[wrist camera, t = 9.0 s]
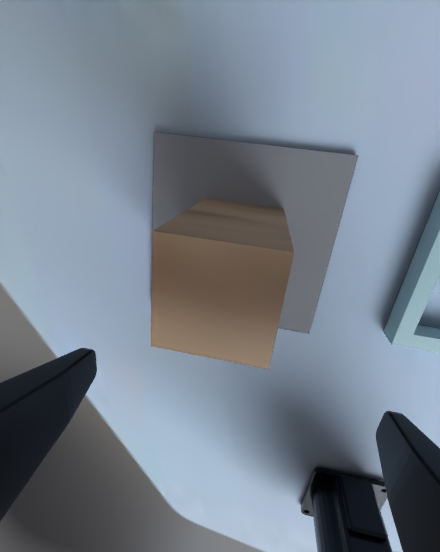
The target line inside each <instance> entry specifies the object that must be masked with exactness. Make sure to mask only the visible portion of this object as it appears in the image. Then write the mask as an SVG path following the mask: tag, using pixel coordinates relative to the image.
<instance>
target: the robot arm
mask: <svg viewBox="0 0 440 552" xmlns="http://www.w3.org/2000/svg"><path fill="white" fill-rule="evenodd" d="M96 372H97V366H96V354H95V351H94V350H92V349H87V348H80V349H78V350H75V351H73V352H71V353H68V354H66V355H64V356H61V357H59V358H57V359H55V360H52V361H50V362H47V363H45V364H43V365H41V366H38V367H36V368H34V369H31V370H29V371H27V372H24V373H22V374H20V375H18V376H15V377H13V378H10V379H8V380H6V381H3V382H1V383H0V522H1V520H2V519H3V517H4V516H5V515H6V513H7V512H8V510H9V509H10V508H11V506H12V504H13V503H14V502H15V500H16V499H17V497H18V496H19V495H20V493H21V492H22V490H23V489H24V487H25V486H26V484H27V483H28V482H29V480H30V479H31V477H32V476H33V474H34V473H35V471H36V470H37V469H38V467H39V466H40V464H41V463H42V461H43V460H44V459H45V457H46V456H47V454H48V453H49V451H50V450H51V448H52V447H53V445H54V444H55V443H56V441H57V440H58V438H59V437H60V435H61V434H62V432H63V431H64V430H65V428H66V427H67V425H68V423H69V422H70V421H71V419H72V417H73V416H74V414H75V412H76V410H77V409H78V407H79V405H80V403H81V401H82V400H83V398H84V396H85V394H86V392H87V391H88V389H89V387H90V385H91V384H92V382H93V380H94V378H95V376H96ZM376 441H377V446H378V452H379V457H380V462H381V468H382V473H383V478H384V482H381V481H376V480H372V479H368V478H363V477H359V476H355V475H350V474H346V473H342V472H337V471H333V470H329V469H324V468H316V469H315V470H314V472H313V475H312V478H311V480H310V483H309V486H308V488H307V491H306V494H305V497H304V499H303V502H302V505H301V512H302V513H303V514H305V515H308V516H312V517H314V525H315V534H316V542H317V551H318V552H392V549H391V546H390V542H389V539H388V535H387V531H386V528H385V525H384V522H383V518H382V515H381V512H380V510H381V508H382V506H383V504H384V502H385V501H386V499H387V498H388V501H389V505H390V509H391V512H392V516H393V519H394V523H395V526H396V529H397V533H398V536H399V540H400V543H401V547H402V550H403V552H440V448H439V447H438V446H437V445H435V444H434V443H433V442H432V441H431V440H430V439H429V438H428V437H427V436H426V435H425V434H424V433H423V432H421V431H420V430H419V429H418V428H417V427H416V426H415V425H414V424H413V423H412V422H411V421H410V420H409V419H407V418H406V417H405V416H404V415H403V414H401V413H397V412H392V411H386V412H385V413H384V415H383V417H382V419H381V422H380V424H379V426H378V428H377V431H376Z"/></svg>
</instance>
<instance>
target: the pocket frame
mask: <svg viewBox="0 0 440 552" xmlns="http://www.w3.org/2000/svg"><path fill="white" fill-rule="evenodd" d="M439 276H440V191H439V194H438V196H437V199H436V201H435V204H434V206H433V209H432V211H431V214H430V216H429V219H428V221H427V224H426V226H425V229H424V231H423V234H422V236H421V239H420V241H419V244H418V246H417V249H416V251H415V254H414V256H413V259H412V262H411V264H410V267H409V269H408V272H407V274H406V277H405V279H404V282H403V284H402V287H401V289H400V292H399V294H398V297H397V299H396V302H395V304H394V307H393V309H392V312H391V314H390V317H389V319H388V322H387V324H386V327H385V329H384V334H385V335H386V337H387V338H388V340H389V341H390V343H391V344H392V345H397V346H403V347H408V348H414V349H419V350H425V351H430V352H436V353H440V329H439V328H433V327H427V326H421V325H418V323H419V321H420V318H421V316H422V314H423V312H424V310H425V307H426V305H427V303H428V301H429V298H430V296H431V294H432V292H433V290H434V287H435V285H436V283H437V281H438V278H439Z"/></svg>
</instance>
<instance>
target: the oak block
mask: <svg viewBox="0 0 440 552" xmlns="http://www.w3.org/2000/svg"><path fill="white" fill-rule="evenodd" d="M293 257H294V249H293V245H292V240H291V236H290V232H289V228H288V224H287V220H286V215H285V211H284V209H281V208H274V207H266V206H259V205H252V204H244V203H237V202H230V201H222V200H215V199H207V198H205V199H203V200H202V201H200V202H199V203H197V204H195V205H194V206H192V207H190V208H189V209H187V210H186V211H184V212H182V213H181V214H179V215H177V216H176V217H174V218H173V219H171V220H169V221H168V222H166V223H165V224H163V225H161V226H160V227H158V228H156V229H155V230H153V231H152V294H151V346H154V347H159V348H164V349H169V350H174V351H179V352H184V353H189V354H194V355H199V356H204V357H209V358H215V359H220V360H225V361H230V362H235V363H240V364H245V365H250V366H255V367H260V368H265V369H269V365H270V361H271V356H272V352H273V347H274V343H275V338H276V334H277V329H278V325H279V320H280V315H281V311H282V306H283V302H284V297H285V293H286V288H287V284H288V279H289V275H290V270H291V266H292V261H293Z"/></svg>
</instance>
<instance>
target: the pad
mask: <svg viewBox="0 0 440 552" xmlns="http://www.w3.org/2000/svg"><path fill="white" fill-rule="evenodd" d="M357 159H358V155H350V154H341V153H332V152H324V151H315V150H306V149H298V148H289V147H280V146H271V145H263V144H254V143H245V142H237V141H228V140H219V139H210V138H202V137H193V136H184V135H176V134H167V133H158V132H154V160H153V221H152V231H153V230H155V229H156V228H158V227H160V226H161V225H163V224H165V223H166V222H168V221H169V220H171V219H173V218H174V217H176V216H177V215H179V214H181V213H182V212H184V211H186V210H187V209H189V208H190V207H192V206H194V205H195V204H197V203H199V202H200V201H202V200H203V199H205V198H207V199H215V200H222V201H230V202H237V203H244V204H252V205H259V206H266V207H274V208H281V209H284V211H285V215H286V220H287V224H288V228H289V232H290V236H291V240H292V245H293V249H294V257H293V261H292V266H291V270H290V275H289V279H288V284H287V288H286V293H285V297H284V302H283V306H282V311H281V315H280V320H279V325H278V328H281V329H286V330H292V331H297V332H302V333H308V334H309V332H310V328H311V325H312V321H313V317H314V314H315V310H316V307H317V303H318V299H319V296H320V292H321V289H322V285H323V281H324V278H325V274H326V271H327V267H328V263H329V260H330V256H331V253H332V249H333V245H334V242H335V238H336V235H337V231H338V227H339V224H340V220H341V217H342V213H343V209H344V206H345V202H346V199H347V195H348V191H349V188H350V184H351V180H352V177H353V173H354V170H355V166H356V162H357ZM151 294H152V282H151Z"/></svg>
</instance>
